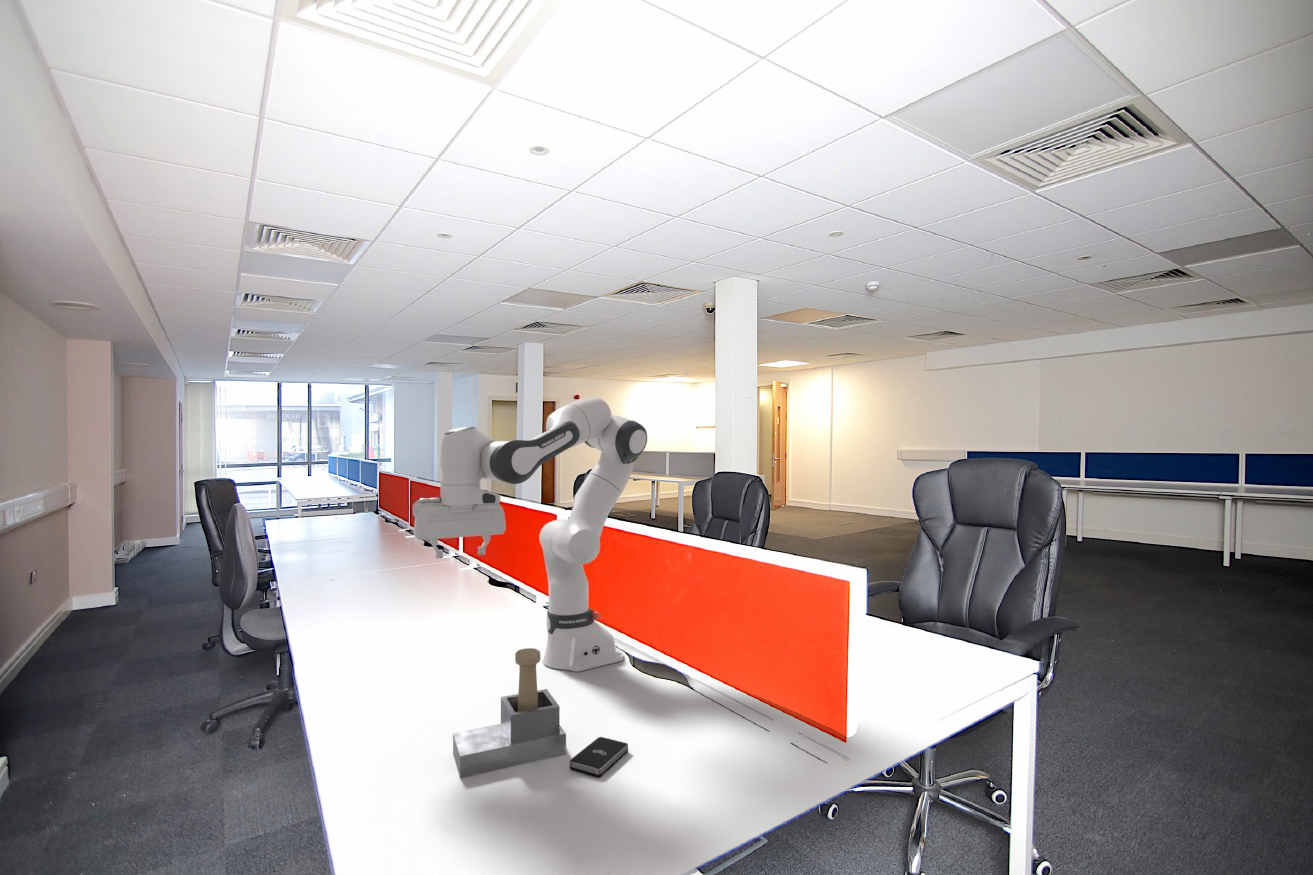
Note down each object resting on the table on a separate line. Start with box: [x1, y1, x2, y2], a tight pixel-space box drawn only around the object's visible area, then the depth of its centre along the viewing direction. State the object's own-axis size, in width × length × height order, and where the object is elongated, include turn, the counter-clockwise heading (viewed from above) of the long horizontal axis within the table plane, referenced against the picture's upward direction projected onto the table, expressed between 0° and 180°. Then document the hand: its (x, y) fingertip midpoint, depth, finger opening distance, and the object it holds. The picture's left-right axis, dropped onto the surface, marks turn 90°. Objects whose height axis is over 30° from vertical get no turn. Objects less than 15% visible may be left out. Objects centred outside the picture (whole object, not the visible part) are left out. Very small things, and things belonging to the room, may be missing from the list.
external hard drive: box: [569, 736, 629, 779], centre depth 118 cm, size 7×11×2 cm, turn 153°
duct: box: [452, 688, 567, 779], centre depth 121 cm, size 20×10×10 cm, turn 115°
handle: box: [514, 647, 541, 712], centre depth 123 cm, size 5×6×15 cm
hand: (460, 556), depth 142 cm, fingers open, 8 cm apart
